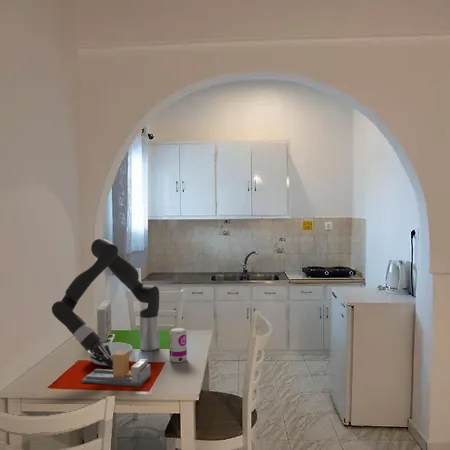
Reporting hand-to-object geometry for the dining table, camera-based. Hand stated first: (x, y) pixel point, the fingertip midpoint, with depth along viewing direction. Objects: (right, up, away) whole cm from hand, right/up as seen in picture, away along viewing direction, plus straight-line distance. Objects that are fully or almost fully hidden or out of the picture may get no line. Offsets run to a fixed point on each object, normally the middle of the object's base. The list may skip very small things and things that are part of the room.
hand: (113, 366), depth 193 cm
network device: (-19, -4, +60) cm, 64 cm away
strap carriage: (+7, -4, -1) cm, 8 cm away
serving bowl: (-7, -5, +22) cm, 23 cm away
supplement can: (+26, -5, +24) cm, 35 cm away
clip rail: (+1, -5, 0) cm, 6 cm away
